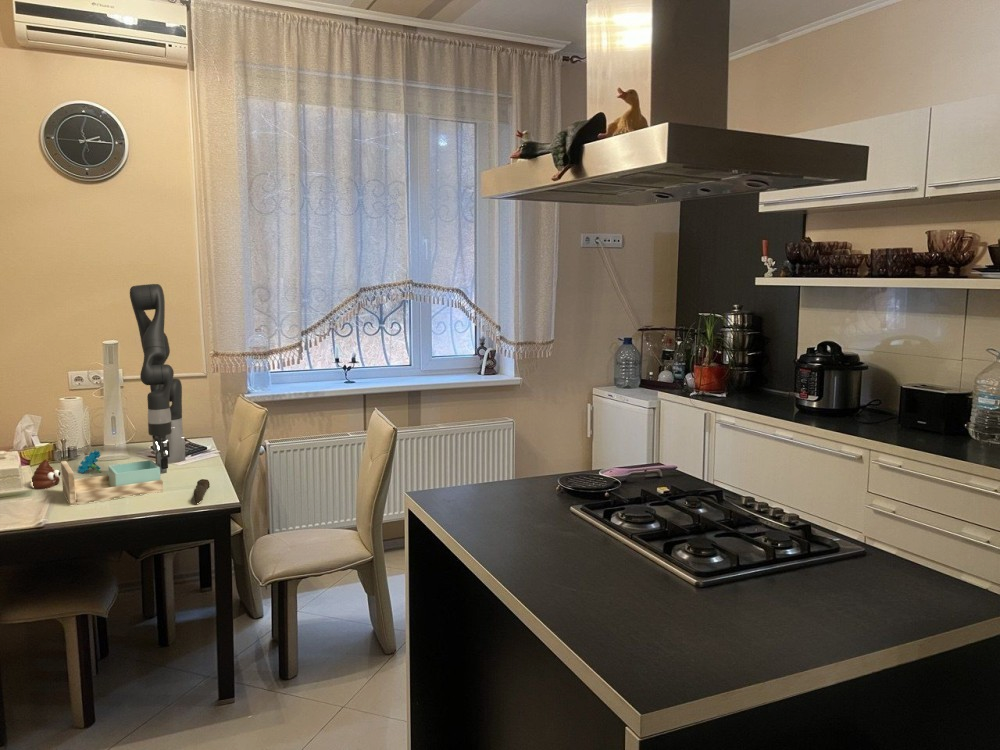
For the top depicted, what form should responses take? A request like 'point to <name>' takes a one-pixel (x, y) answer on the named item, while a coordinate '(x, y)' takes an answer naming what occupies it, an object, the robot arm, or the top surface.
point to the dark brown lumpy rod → (200, 490)
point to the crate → (135, 472)
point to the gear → (90, 462)
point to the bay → (100, 487)
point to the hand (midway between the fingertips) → (161, 466)
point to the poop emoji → (45, 476)
